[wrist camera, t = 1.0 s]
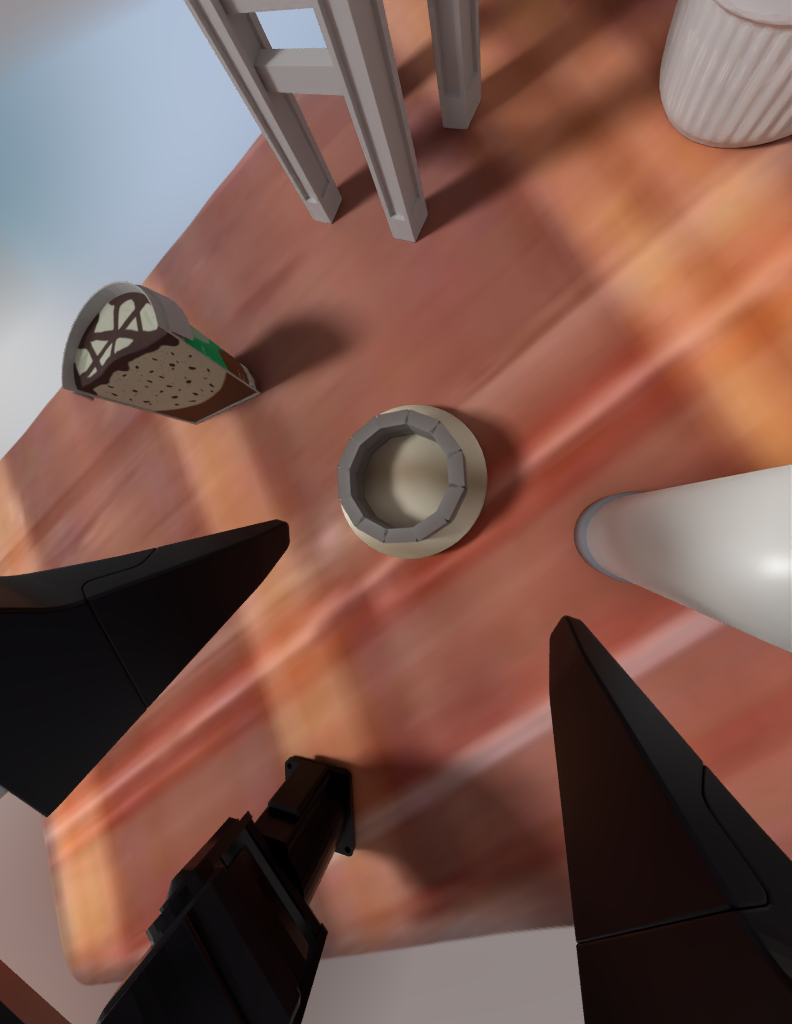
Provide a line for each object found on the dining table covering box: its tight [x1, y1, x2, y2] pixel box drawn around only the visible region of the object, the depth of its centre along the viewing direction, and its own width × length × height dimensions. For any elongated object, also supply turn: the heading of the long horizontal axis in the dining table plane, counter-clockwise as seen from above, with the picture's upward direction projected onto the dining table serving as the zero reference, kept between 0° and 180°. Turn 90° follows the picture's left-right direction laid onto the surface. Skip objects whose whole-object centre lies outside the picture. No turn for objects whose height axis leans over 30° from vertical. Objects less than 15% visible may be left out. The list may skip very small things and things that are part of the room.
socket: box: [337, 405, 487, 559], centre depth 22 cm, size 12×12×4 cm
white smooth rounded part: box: [574, 464, 792, 653], centre depth 12 cm, size 5×5×14 cm
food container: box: [62, 281, 261, 424], centre depth 26 cm, size 12×6×10 cm, turn 103°
